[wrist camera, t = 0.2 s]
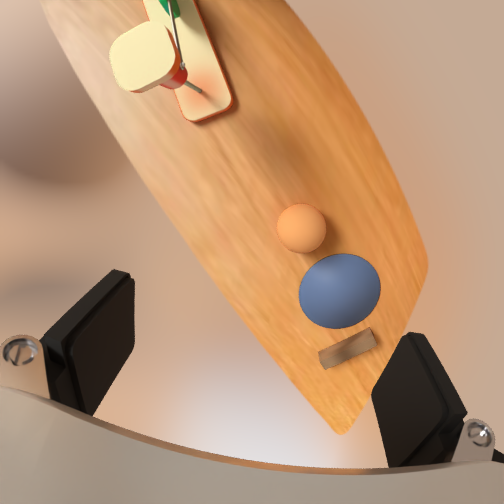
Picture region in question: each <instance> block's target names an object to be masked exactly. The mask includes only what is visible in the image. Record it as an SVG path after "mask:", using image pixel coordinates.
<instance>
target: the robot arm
mask: <svg viewBox="0 0 504 504" xmlns="http://www.w3.org/2000/svg"><path fill="white" fill-rule="evenodd" d="M134 297H135V281H134V279H132V278H131V276H130V274H129V273H126V272H123V271H118V270H115V269H114V270H112V271H111V272H110V273H109V274H107V275H106V276H105V277H104V278H103V279H102V280H101V281H100V282H98V283H97V284H96V285H95V286H94V287H93V288H92V289H91V290H90V291H89V292H88V293H87V294H86V295H84V296H83V297H82V298H81V299H80V300H79V301H78V302H77V303H76V304H75V305H74V306H73V307H72V308H71V309H69V310H68V311H67V312H66V313H65V314H64V315H63V316H62V317H61V318H60V319H59V320H58V321H57V322H56V323H55V324H54V325H53V326H52V327H51V328H50V329H49V330H48V331H47V332H46V333H45V334H44V336H43V337H42V338H41V339H40V340H39V341H38V339H36V338H34V337H32V336H28V335H16V336H13V337H11V338H8V339H6V340H5V341H4V342H3V343H2V344H1V346H0V504H504V454H502V453H501V452H499V451H497V450H496V449H494V445H495V436H494V433H493V431H492V429H491V428H490V427H489V426H488V425H487V424H486V423H484V422H483V421H481V420H479V419H469V420H467V421H466V422H465V423H464V421H463V418H464V417H465V416H466V415H467V411H466V409H465V407H464V405H463V403H462V401H461V399H460V397H459V395H458V393H457V391H456V389H455V387H454V386H453V384H452V382H451V380H450V378H449V376H448V375H447V373H446V371H445V369H444V367H443V366H442V364H441V362H440V360H439V359H438V357H437V355H436V353H435V352H434V350H433V348H432V347H431V345H430V343H429V342H428V340H427V338H426V337H425V335H424V334H421V333H414V332H409V333H407V334H406V335H404V336H402V338H401V339H400V341H399V343H398V345H397V347H396V349H395V351H394V353H393V354H392V356H391V358H390V360H389V362H388V364H387V365H386V367H385V369H384V371H383V372H382V374H381V376H380V378H379V379H378V381H377V383H376V384H375V386H374V388H373V390H372V394H371V397H372V402H373V405H374V409H375V413H376V417H377V420H378V424H379V428H380V432H381V436H382V441H383V445H384V449H385V453H386V457H387V462H388V466H389V468H373V469H339V468H315V467H302V466H290V465H280V464H273V463H264V462H258V461H251V460H244V459H239V458H233V457H228V456H223V455H218V454H213V453H209V452H204V451H200V450H195V449H191V448H187V447H184V446H180V445H176V444H172V443H169V442H165V441H162V440H158V439H155V438H152V437H148V436H146V435H143V434H139V433H137V432H134V431H131V430H128V429H125V428H122V427H119V426H116V425H114V424H110V423H108V422H105V421H103V420H100V419H98V418H95V417H93V414H94V413H95V411H96V409H97V408H98V406H99V405H100V403H101V401H102V400H103V398H104V396H105V395H106V393H107V391H108V390H109V388H110V386H111V385H112V383H113V381H114V380H115V378H116V376H117V374H118V373H119V371H120V370H121V368H122V367H123V365H124V363H125V362H126V360H127V359H128V357H129V355H130V354H131V352H132V350H133V348H134V344H135V343H134V342H135V331H134V330H135V329H134Z"/></svg>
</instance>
